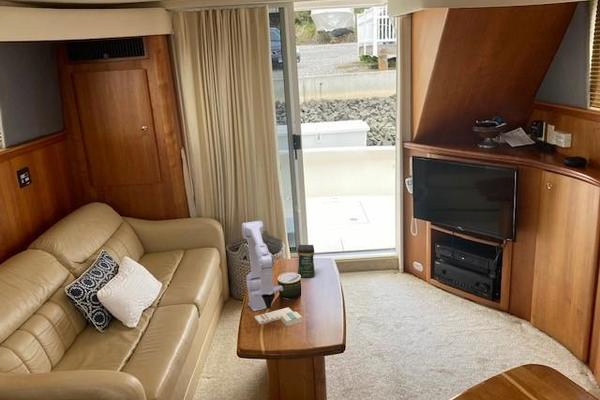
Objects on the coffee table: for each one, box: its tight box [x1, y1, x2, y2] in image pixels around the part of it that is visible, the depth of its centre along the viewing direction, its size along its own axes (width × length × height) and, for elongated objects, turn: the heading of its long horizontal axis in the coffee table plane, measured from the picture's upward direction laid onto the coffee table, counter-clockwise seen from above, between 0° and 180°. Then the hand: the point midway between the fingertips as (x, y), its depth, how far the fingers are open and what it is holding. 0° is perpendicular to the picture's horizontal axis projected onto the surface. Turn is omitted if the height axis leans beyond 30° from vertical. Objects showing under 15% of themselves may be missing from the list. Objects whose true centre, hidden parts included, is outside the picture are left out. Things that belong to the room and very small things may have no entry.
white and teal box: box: [280, 311, 303, 327], centre depth 231 cm, size 6×8×4 cm
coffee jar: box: [297, 244, 316, 279], centre depth 279 cm, size 10×8×19 cm
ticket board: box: [254, 307, 294, 325], centre depth 236 cm, size 7×18×1 cm, turn 116°
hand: (268, 308), depth 225 cm, fingers closed
